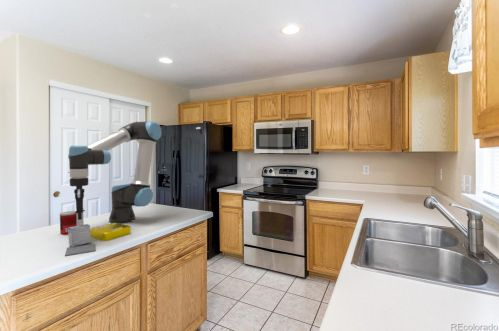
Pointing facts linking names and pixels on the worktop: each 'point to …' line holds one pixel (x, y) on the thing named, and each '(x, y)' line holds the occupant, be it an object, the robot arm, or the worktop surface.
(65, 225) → the canned food
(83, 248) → the mat
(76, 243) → the medicine box
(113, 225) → the element tile
